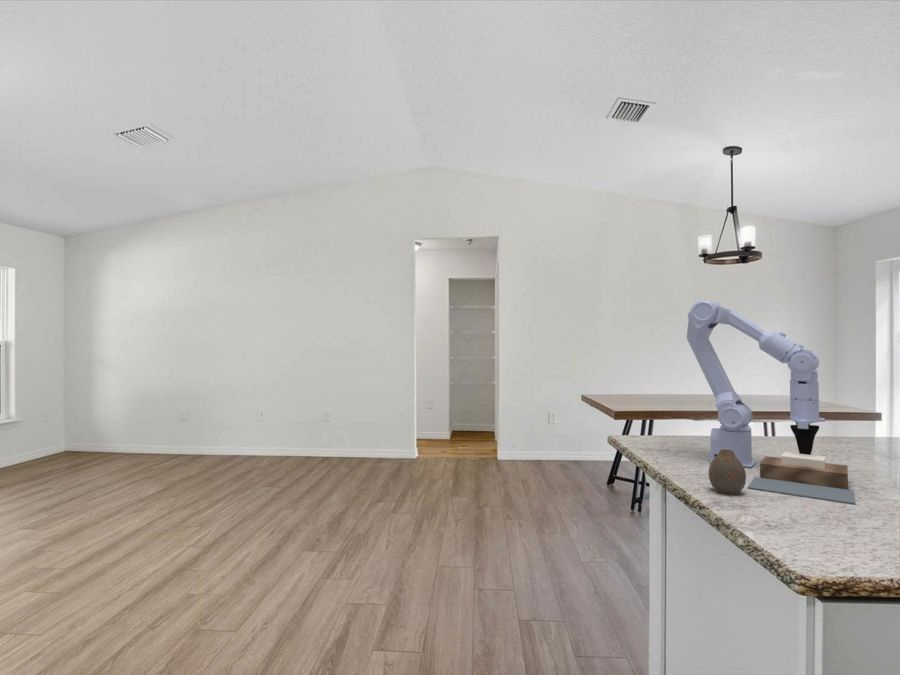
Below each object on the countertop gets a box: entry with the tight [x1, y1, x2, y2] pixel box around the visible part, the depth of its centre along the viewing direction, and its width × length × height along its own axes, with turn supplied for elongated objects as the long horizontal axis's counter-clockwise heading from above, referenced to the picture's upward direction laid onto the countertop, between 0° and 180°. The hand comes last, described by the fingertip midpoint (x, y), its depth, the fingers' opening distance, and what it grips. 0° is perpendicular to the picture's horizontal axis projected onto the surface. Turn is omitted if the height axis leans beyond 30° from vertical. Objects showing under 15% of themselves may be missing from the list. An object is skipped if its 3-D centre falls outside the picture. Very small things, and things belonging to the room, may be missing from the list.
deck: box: [759, 455, 849, 490], centre depth 114 cm, size 16×10×4 cm, turn 51°
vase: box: [708, 449, 747, 495], centre depth 104 cm, size 7×7×9 cm
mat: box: [747, 476, 856, 506], centre depth 105 cm, size 18×11×1 cm, turn 51°
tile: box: [780, 451, 826, 469], centre depth 114 cm, size 8×6×2 cm
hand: (805, 455), depth 120 cm, fingers closed
